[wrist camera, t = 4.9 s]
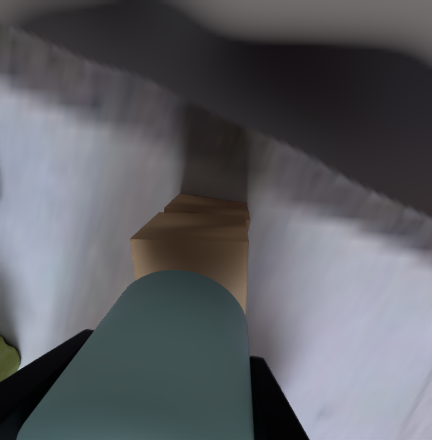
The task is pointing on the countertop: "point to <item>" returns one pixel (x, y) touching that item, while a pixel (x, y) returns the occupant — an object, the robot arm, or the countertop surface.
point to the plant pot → (8, 360)
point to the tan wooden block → (196, 248)
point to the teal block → (156, 369)
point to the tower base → (206, 206)
